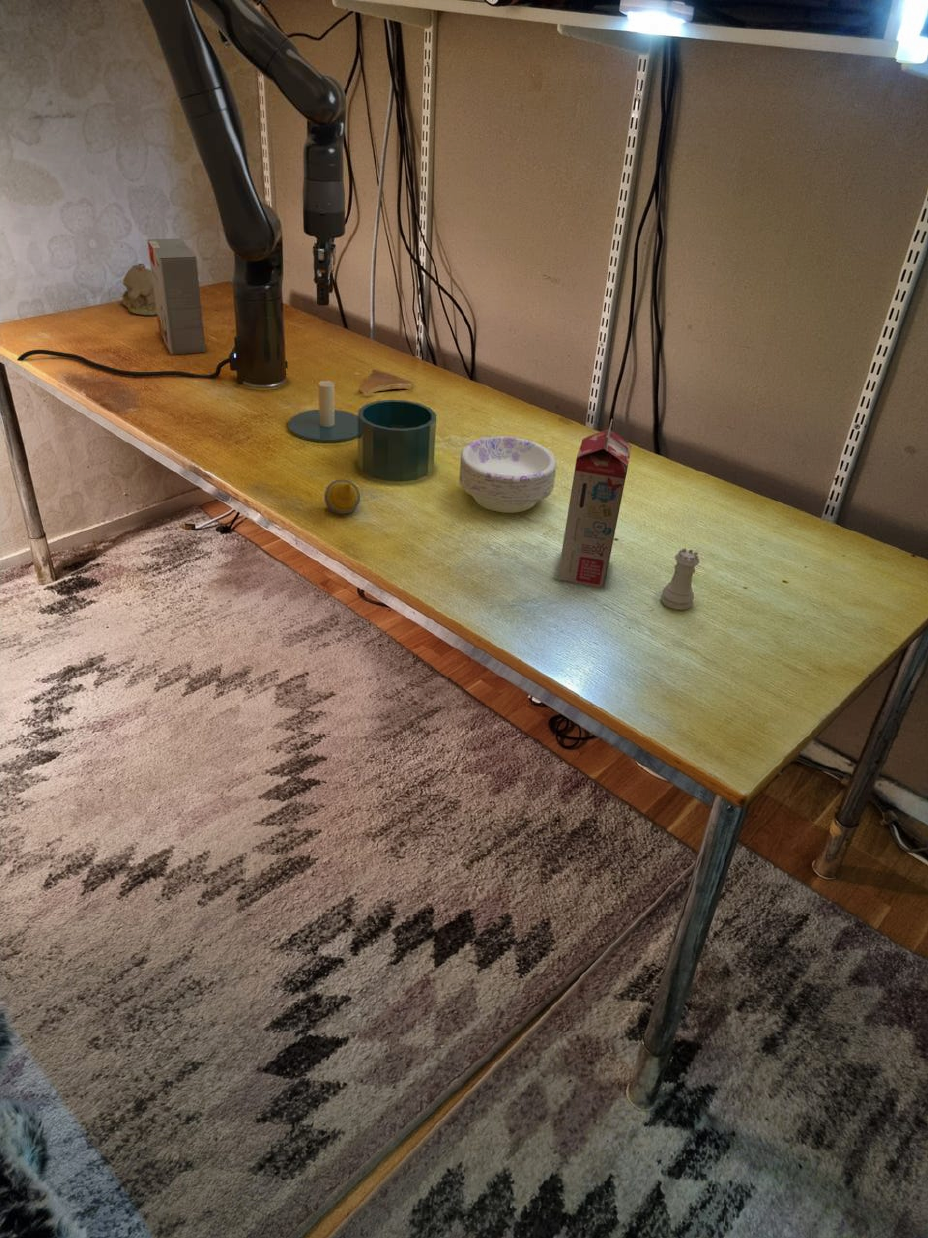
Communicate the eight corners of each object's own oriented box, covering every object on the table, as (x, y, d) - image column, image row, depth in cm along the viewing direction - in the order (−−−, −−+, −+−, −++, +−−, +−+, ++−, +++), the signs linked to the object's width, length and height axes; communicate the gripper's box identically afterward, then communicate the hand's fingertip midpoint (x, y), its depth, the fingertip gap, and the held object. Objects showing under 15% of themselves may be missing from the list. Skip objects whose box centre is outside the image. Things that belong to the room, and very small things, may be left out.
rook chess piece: (656, 593, 122) (668, 544, 117) (686, 593, 122) (699, 544, 118) (664, 611, 118) (677, 561, 114) (696, 612, 119) (710, 562, 114)
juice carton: (608, 564, 127) (636, 422, 115) (603, 587, 122) (632, 441, 109) (563, 556, 128) (586, 414, 116) (557, 579, 123) (580, 433, 110)
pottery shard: (359, 397, 174) (359, 384, 172) (359, 380, 181) (359, 368, 180) (412, 398, 175) (412, 386, 174) (409, 381, 182) (409, 369, 181)
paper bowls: (491, 530, 133) (496, 483, 128) (440, 488, 143) (443, 444, 139) (569, 511, 140) (576, 466, 136) (515, 472, 150) (521, 429, 146)
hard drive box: (158, 332, 196) (146, 238, 185) (193, 330, 199) (183, 237, 187) (170, 355, 185) (158, 256, 173) (207, 352, 188) (197, 255, 176)
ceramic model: (183, 310, 210) (178, 267, 205) (140, 318, 203) (134, 273, 198) (151, 296, 218) (146, 254, 212) (109, 303, 211) (103, 260, 205)
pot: (355, 482, 143) (355, 427, 138) (360, 449, 153) (360, 397, 148) (433, 486, 144) (436, 432, 138) (433, 453, 154) (436, 402, 149)
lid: (283, 443, 153) (280, 395, 148) (293, 413, 164) (291, 367, 159) (363, 448, 154) (363, 400, 149) (367, 417, 165) (368, 372, 160)
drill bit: (363, 504, 138) (374, 486, 128) (338, 526, 136) (347, 509, 127) (340, 479, 137) (349, 459, 128) (315, 500, 136) (322, 481, 126)
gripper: (307, 196, 161) (309, 287, 171) (298, 212, 150) (301, 308, 159) (347, 199, 162) (347, 289, 171) (341, 215, 150) (342, 310, 160)
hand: (325, 298), depth 165 cm, fingers open, 8 cm apart
